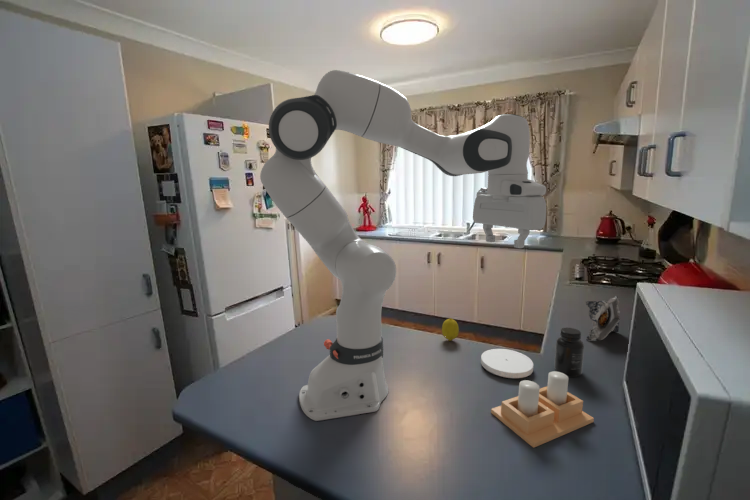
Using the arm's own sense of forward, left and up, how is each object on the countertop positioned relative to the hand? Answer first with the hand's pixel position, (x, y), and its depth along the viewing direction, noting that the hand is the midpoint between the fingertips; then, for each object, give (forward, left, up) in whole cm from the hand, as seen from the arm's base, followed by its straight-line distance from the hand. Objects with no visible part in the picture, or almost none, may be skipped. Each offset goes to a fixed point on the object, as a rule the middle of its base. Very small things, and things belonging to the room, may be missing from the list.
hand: (503, 244), depth 85 cm
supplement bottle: (+22, -4, -37) cm, 43 cm away
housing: (-1, -15, -37) cm, 40 cm away
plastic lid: (+8, +5, -38) cm, 39 cm away
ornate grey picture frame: (+52, +7, -37) cm, 65 cm away
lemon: (+4, +26, -37) cm, 46 cm away
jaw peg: (-5, -15, -36) cm, 39 cm away
